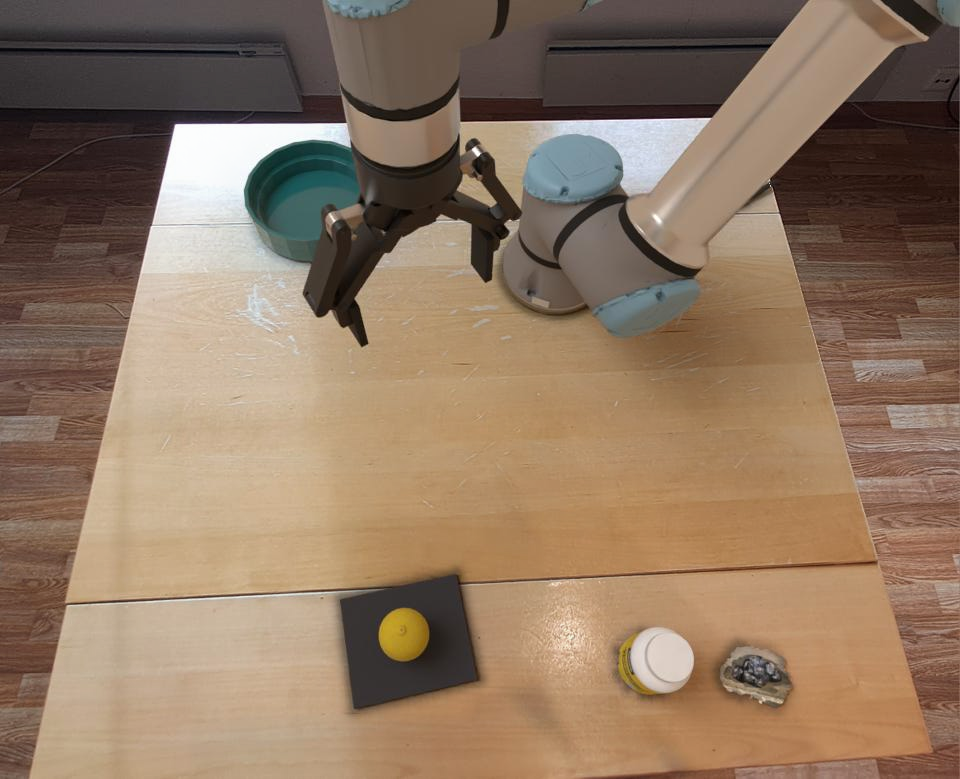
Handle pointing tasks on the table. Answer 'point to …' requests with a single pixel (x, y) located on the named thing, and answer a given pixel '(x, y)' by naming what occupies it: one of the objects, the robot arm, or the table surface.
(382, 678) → the mat
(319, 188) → the bowl
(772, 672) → the mineral rock
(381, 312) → the table surface
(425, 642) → the lemon
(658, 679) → the pill bottle
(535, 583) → the table surface
